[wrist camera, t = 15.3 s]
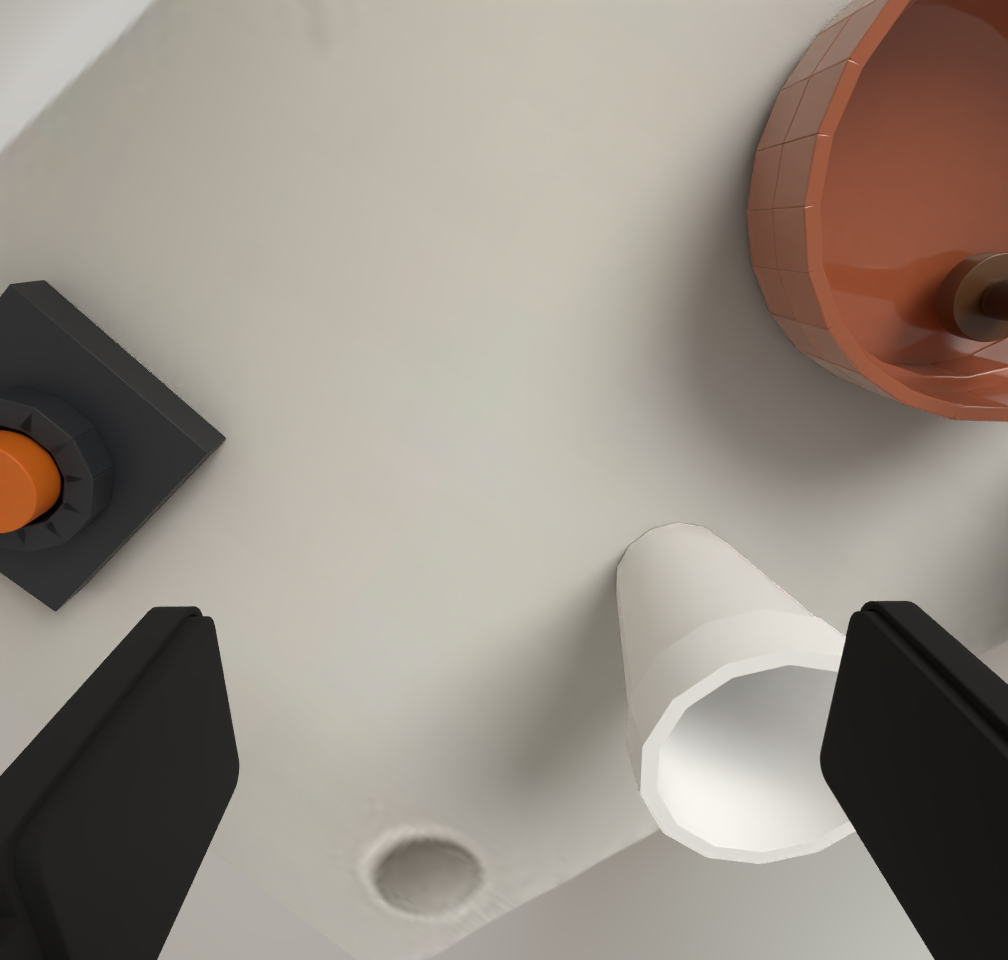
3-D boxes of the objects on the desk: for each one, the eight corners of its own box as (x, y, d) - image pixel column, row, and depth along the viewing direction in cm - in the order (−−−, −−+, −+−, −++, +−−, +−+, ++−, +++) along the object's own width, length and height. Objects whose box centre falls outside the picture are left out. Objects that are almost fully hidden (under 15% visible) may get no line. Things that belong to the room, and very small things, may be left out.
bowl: (662, 179, 28) (706, 166, 22) (1034, -175, 24) (1201, -300, 18) (875, 457, 32) (956, 505, 27) (1215, 200, 29) (1392, 194, 23)
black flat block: (-98, 457, 31) (-178, 488, 28) (44, 279, 29) (-23, 287, 25) (81, 589, 34) (31, 633, 30) (226, 438, 31) (191, 466, 28)
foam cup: (752, 648, 36) (885, 858, 24) (586, 655, 36) (636, 869, 24) (771, 490, 33) (936, 642, 21) (588, 497, 33) (647, 655, 21)
